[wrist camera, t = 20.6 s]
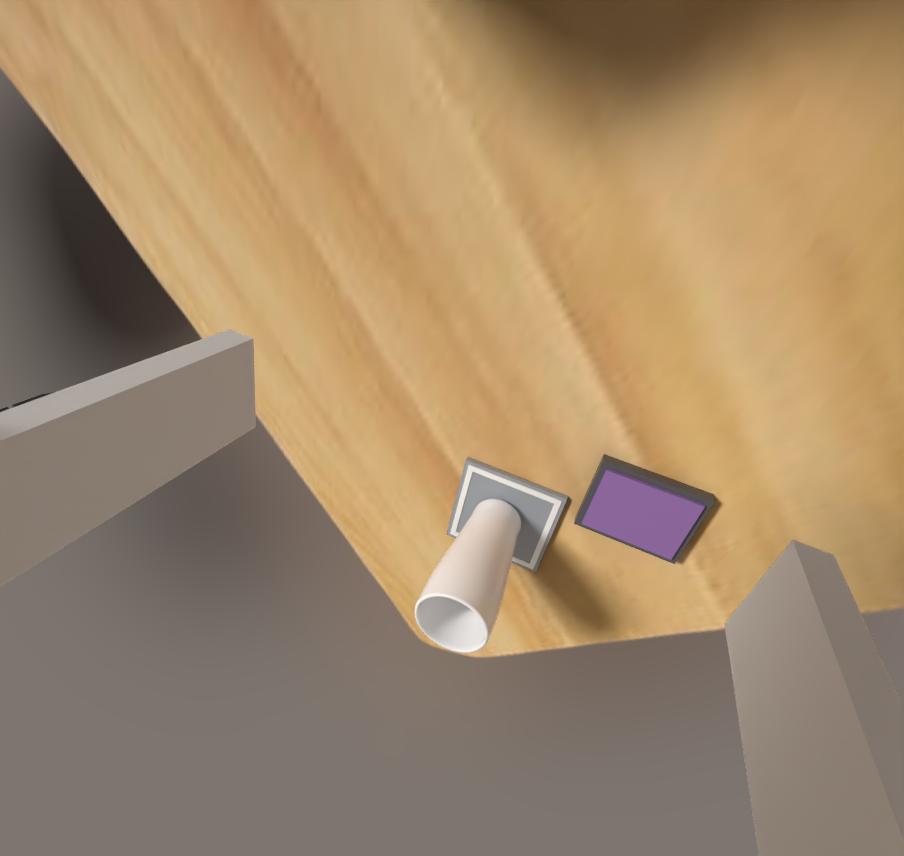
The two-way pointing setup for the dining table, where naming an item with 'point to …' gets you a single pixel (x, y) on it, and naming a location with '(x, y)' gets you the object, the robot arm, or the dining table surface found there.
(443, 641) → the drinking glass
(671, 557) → the ink pad
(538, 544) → the plate
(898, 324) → the dining table surface
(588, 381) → the dining table surface
